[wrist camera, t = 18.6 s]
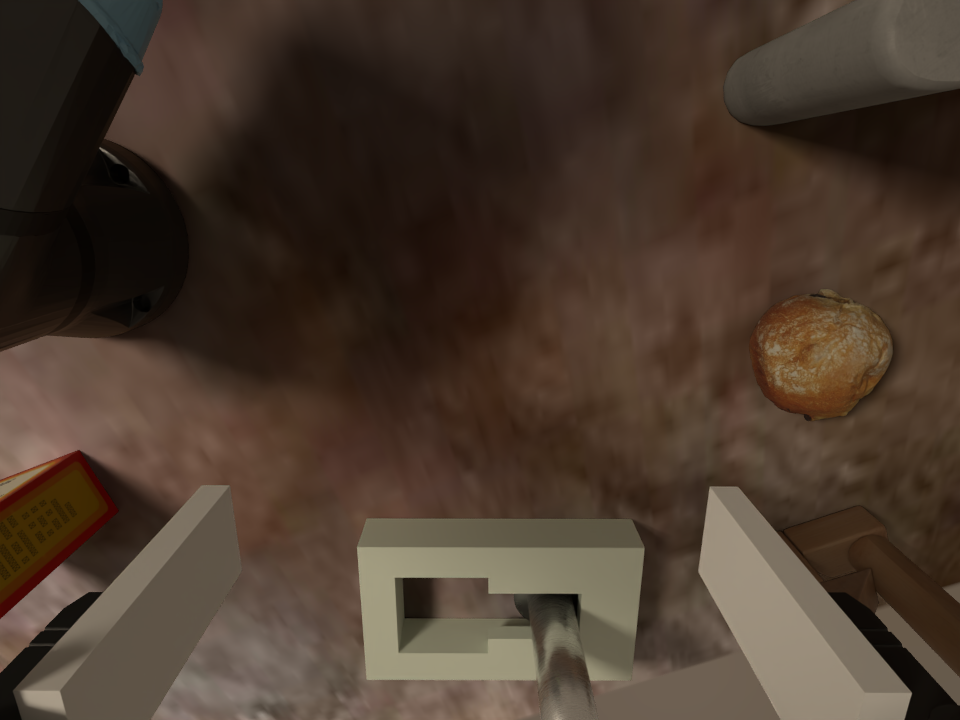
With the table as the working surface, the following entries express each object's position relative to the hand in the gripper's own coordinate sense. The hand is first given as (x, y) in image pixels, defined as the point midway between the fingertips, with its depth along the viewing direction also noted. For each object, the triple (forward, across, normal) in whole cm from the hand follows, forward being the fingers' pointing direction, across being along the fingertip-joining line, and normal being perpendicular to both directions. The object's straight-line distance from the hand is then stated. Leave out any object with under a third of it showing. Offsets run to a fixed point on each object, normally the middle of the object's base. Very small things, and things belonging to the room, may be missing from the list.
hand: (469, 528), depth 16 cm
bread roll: (+32, +27, -4) cm, 42 cm away
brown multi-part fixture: (+32, +30, -22) cm, 49 cm away
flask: (+32, +25, +17) cm, 44 cm away
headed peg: (+32, +7, -27) cm, 42 cm away
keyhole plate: (+32, +2, -27) cm, 42 cm away
